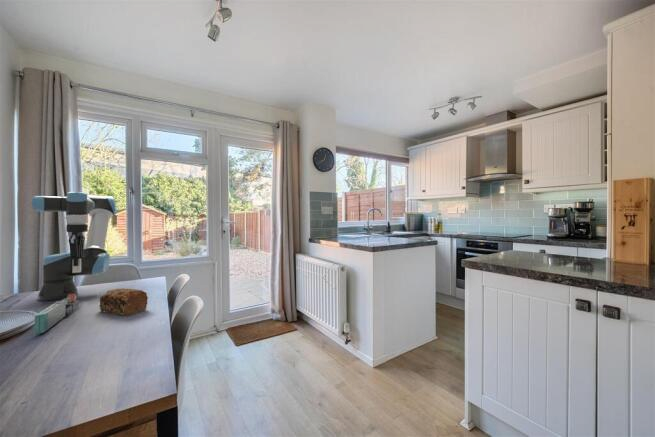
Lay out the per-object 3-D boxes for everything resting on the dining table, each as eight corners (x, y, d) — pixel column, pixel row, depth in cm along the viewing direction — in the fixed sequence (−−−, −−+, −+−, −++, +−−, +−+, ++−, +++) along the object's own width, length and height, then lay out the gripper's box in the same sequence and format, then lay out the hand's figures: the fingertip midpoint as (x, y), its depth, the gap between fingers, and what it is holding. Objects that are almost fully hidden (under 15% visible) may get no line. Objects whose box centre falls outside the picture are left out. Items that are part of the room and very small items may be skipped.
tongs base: (66, 309, 123) (66, 294, 123) (79, 308, 126) (79, 292, 126) (31, 336, 96) (31, 316, 96) (48, 334, 98) (48, 314, 98)
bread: (148, 310, 125) (148, 288, 125) (123, 317, 115) (123, 294, 115) (123, 304, 132) (123, 284, 132) (98, 311, 122) (98, 290, 122)
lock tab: (69, 300, 124) (69, 294, 124) (76, 299, 125) (76, 293, 125) (66, 301, 121) (66, 295, 121) (74, 301, 122) (74, 295, 122)
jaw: (64, 312, 117) (64, 298, 117) (71, 312, 118) (71, 297, 118) (37, 333, 97) (37, 315, 97) (46, 332, 98) (46, 314, 98)
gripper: (72, 223, 133) (72, 270, 133) (60, 224, 121) (60, 275, 121) (91, 223, 136) (91, 269, 137) (82, 224, 125) (82, 274, 125)
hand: (76, 272), depth 129 cm, fingers closed
